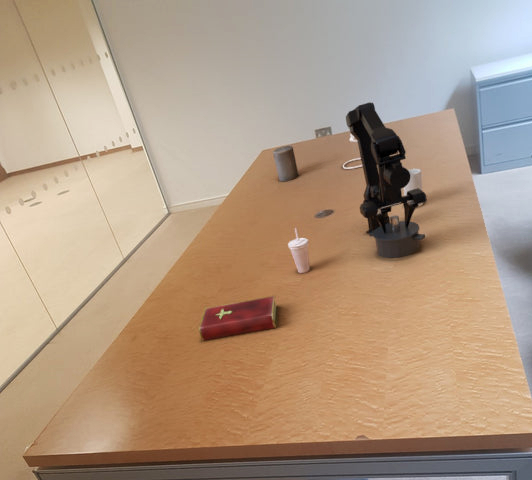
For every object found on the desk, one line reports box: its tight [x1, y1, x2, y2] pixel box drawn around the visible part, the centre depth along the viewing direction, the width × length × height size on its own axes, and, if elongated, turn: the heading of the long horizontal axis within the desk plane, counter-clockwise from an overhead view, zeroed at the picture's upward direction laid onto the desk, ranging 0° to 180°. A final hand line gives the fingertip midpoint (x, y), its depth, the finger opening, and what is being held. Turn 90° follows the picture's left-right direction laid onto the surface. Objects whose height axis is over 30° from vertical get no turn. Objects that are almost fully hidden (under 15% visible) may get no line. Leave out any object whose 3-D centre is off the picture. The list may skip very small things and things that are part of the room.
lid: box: [372, 214, 420, 241], centre depth 170 cm, size 14×14×5 cm
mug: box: [402, 168, 424, 208], centre depth 201 cm, size 10×7×12 cm, turn 161°
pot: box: [368, 230, 426, 260], centre depth 172 cm, size 13×18×6 cm
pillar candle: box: [272, 145, 300, 182], centre depth 266 cm, size 10×10×15 cm
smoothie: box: [287, 227, 311, 274], centre depth 175 cm, size 6×6×14 cm
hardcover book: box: [198, 294, 279, 341], centre depth 158 cm, size 12×21×4 cm, turn 87°
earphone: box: [342, 133, 363, 170], centre depth 260 cm, size 14×17×18 cm
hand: (395, 230), depth 170 cm, fingers open, 6 cm apart
